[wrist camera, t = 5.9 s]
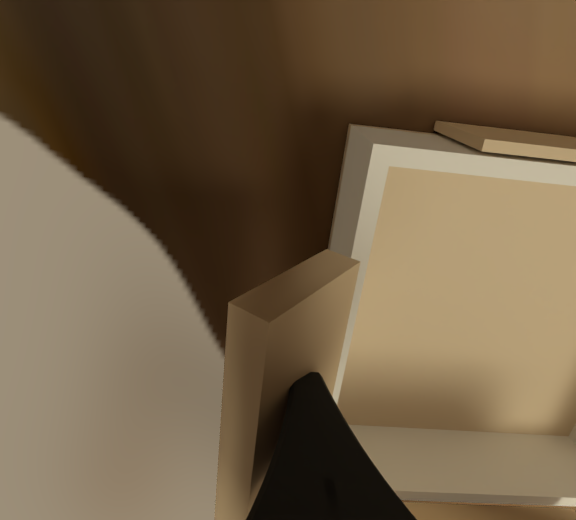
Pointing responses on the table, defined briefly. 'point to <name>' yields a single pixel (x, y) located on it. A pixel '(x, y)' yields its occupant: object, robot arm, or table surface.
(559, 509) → the flap
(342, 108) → the table surface
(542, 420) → the carton
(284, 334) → the flap
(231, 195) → the table surface
